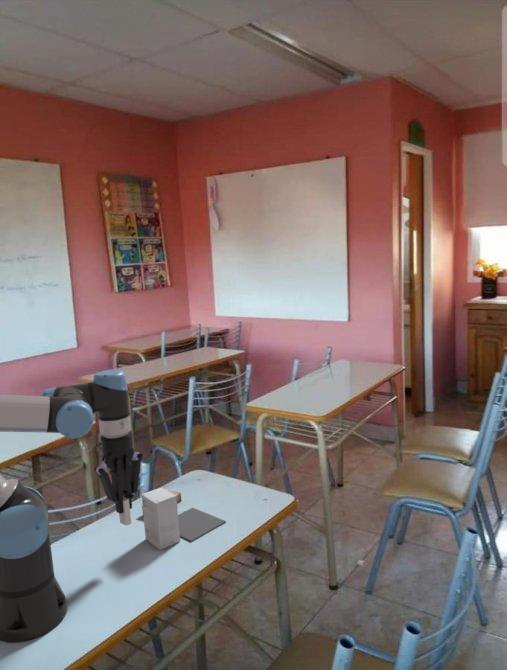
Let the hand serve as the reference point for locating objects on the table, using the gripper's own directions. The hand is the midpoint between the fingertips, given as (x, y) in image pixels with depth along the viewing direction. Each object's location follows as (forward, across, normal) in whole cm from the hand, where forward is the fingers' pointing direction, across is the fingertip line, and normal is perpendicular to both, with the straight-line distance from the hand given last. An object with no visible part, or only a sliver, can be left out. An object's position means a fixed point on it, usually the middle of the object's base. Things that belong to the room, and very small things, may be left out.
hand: (125, 522), depth 139 cm
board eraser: (+10, +23, +15) cm, 29 cm away
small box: (+10, +11, 0) cm, 15 cm away
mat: (+10, +21, 0) cm, 24 cm away
